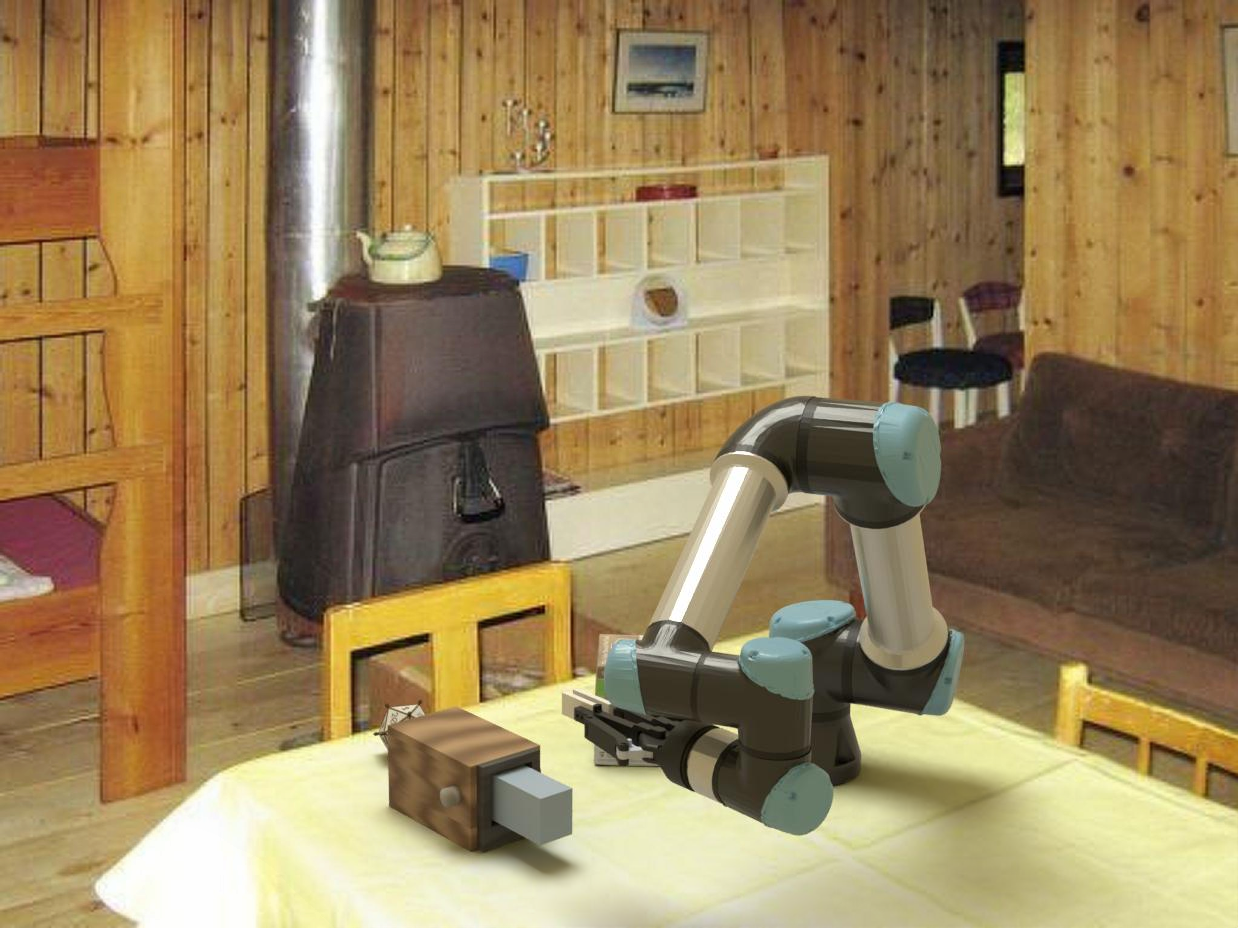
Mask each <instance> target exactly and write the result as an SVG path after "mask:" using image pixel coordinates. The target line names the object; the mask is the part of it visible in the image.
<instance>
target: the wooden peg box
mask: <svg viewBox="0 0 1238 928" xmlns="http://www.w3.org/2000/svg"><path fill="white" fill-rule="evenodd" d="M425 714H426V713H425ZM387 760H388V761H387V764H388V765H387V766H388V777H387V778H388V806H389V807H391V808H392V809H394V810H397V811H398V812H400V813H402V814H404V815H405V816H406V817H409V818H410V819H412V820H414V821H416V822H417V823H419V824H421V825H423V826H424V827H427V828H428V829H430V830H432V831H434V832H435V833H436V834H439V835H441V836H442V837H444V838H446V839H448V840H450V841H451V842H453V843H455V844H456V845H458V846H461V847H462V848H463V849H466V850H468V852H469V851H470V852H475V851H476V850H478V851H480V852H481V853H485V852H486V853H487V852H488V851H492V850H495V849H497V848H500V847H503V846H506V845H508V844H511V843H514V842H517V841H520V840H523V839H526V838H525V837H524V836H522V835H520V834H518V833H516V832H514V831H512V830H510V829H508V828H507V827H505V826H503V825H501V824H499V823H497V822H495V821H493V820H491V774H494V773H497V772H500V771H503V770H506V769H510V768H513V767H516V766H519V765H522V764H523V765H525V766H527V767H529V768H532V769H534V770H536V771H538V772H540V773H542V769H541V744H539V743H536V742H534V741H532V740H530V739H527V738H525V737H524V736H522V735H520V734H516V733H515V732H513V731H510V730H509V729H506V728H504V727H502V726H500V725H497V724H496V723H493V722H491V721H489V720H487V719H485V718H483V717H481V716H478V715H476V714H474V713H472V712H470V711H467V710H465V709H463V708H461V707H459V706H456V705H455V706H452V707H451V706H450V707H449V708H444V709H440V710H437V711H434V712H431V713H427V714H426V715H423V716H419V717H416V718H412V719H408V720H405V721H401V722H398V723H394V724H391V725H388V750H387Z"/></svg>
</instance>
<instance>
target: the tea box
mask: <svg viewBox="0 0 1238 928" xmlns="http://www.w3.org/2000/svg"><path fill="white" fill-rule="evenodd" d="M643 636H644V634H642V635H641V634H613V633H611V634H609V633H608V634H606V633H602V634H601V633H600V634H599V636H598V645H597V654H596V668H595V669H596V670H595V688H594V689H595V690H594V695H596V696H598V697H600V698H603V699H605V700H608V699H607V696H606V691H605V688H604V670H605V665H606V661H607V657H608V654H609V652H610V650H611V648H612V647H613V646H614V645H615V644H617V642H618V641H620V640H622V639H628V640H632V639H637V640H642V638H643ZM608 701H609V700H608ZM593 745H594V747H593V748H594V749H593V757H594V758H593V761H594V764H595V765H599V766H600V765H603V766H619V765H618V763H617V761H616V759H615V758H614V757H613V756H611V755H610V754H608V753H607V752H605V751H604V750H602V749H601V748H599V747H598V746H596V745H595V744H593ZM628 766H631V767H660V766H659V765H656V764H651V763H646V762H644V761H643V760H642V758H633V759H632V760H631V761H629V765H627V766H626V767H628Z"/></svg>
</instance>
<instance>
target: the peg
mask: <svg viewBox="0 0 1238 928" xmlns="http://www.w3.org/2000/svg"><path fill="white" fill-rule="evenodd" d="M491 820H493V821H495V822H497V823H499V824H501V825H503V826H505V827H507V828H508V829H510V830H512V831H514V832H516V833H518V834H520V835H522V836H524V837H525V838H524V839H528V840H530V841H531V842H533V843H535V844H537V845H539V846H542V845H545V844H548V843H552V842H555V841H556V840H559V839H562V838H566V837H568V836H571V835H573V787H571V786H568V785H567V784H564V783H562V782H560V781H559V780H556V779H554V778H552V777H550V776H548V775H545V774H544V773H542V772H541V773H540V772H538V771H536V770H534V769H532V768H529V767H527V766H525V765H523V764H522V765H519V766H516V767H513V768H510V769H506V770H503V771H500V772H497V773H494V774H491Z"/></svg>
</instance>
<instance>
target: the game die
mask: <svg viewBox="0 0 1238 928" xmlns="http://www.w3.org/2000/svg"><path fill="white" fill-rule="evenodd" d="M422 703H423V699H422V698H420V699H419V700H418V702H417V703H416V704H415V703H414V704H405V705H396V706H390V705H389V703H387V702H384V707H385V708H386V711H385V714H384V717H383V720H382V723H381V724H380V727H379V730H378V731H375V732H373V734H372V735H373V736H375V737H376V736H379V738H380V739H381V741H382V743H383V744H384V747H385V748H386V749H387V751H388V725H391V724H394V723H398V722H401V721H405V720H408V719H412V718H416V717H419V716H423V715H426V713H425V711H424V709H423V708H422V706H421V704H422Z"/></svg>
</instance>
